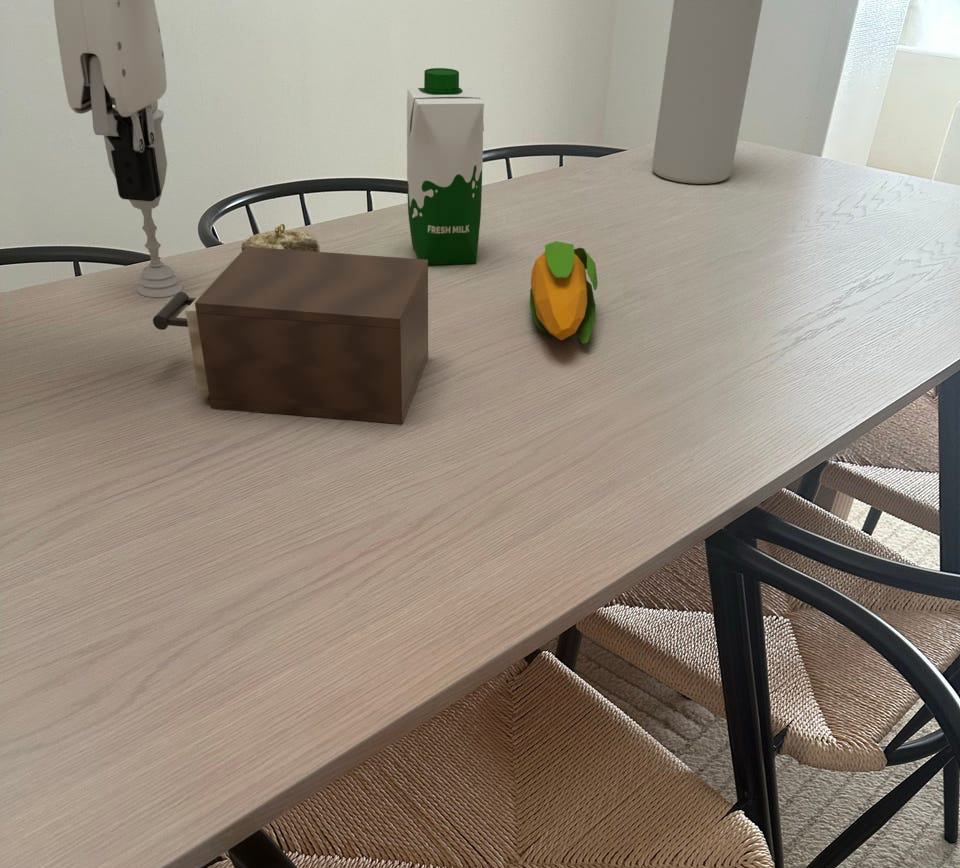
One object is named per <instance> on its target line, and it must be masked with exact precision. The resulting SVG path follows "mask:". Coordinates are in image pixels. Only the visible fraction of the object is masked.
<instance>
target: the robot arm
mask: <svg viewBox="0 0 960 868" xmlns="http://www.w3.org/2000/svg"><path fill="white" fill-rule="evenodd" d="M53 9H54V10H53V11H54V17H55V18H54V19H55V27H56V35H57V41H58V50H59V56H60V63H61V69H62V70H61V71H62V76H63V81H64V87H65V93H66V98H67V102H68V106H69V107H70V109H71V110H72V111H73V112H74V113H76V114H79V115H80V114H86V113H88V112H90V111H91V116H92V117H91V119H92V129H93V132H94V134H95V136H102V137H104V136H105V137H106V141H107V145H108V148H109V150H111V154H112V159H113V165H114V171H115V176H116V178H115V182H116V187H117V192H118V196H119V198H120V199H122V200H128V201H129V200H139V201H154V200H155V199H156V198H157V197H159V196H160V195H161V196H162V194H161V188H160V182H159V175H158V168H157V162H156V155H155V149H154V147H149V146H154V143H155V135H154V124H153V114H154V113H155V111H156V110H157V109H159V108H158V107H159V102H158V101H159V100H160V99H161V98H162V97H163V96H164V95H165V94H166V92H167V88H168V87H167V86H168V85H167V71H166V60H165V54H164V48H163V40H162V33H161V29H160V23H159V18H158V13H157V8H156V2H155V0H53ZM113 107H115V108H113ZM115 176H114V177H115Z"/></svg>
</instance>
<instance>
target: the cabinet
mask: <svg viewBox="0 0 960 868" xmlns="http://www.w3.org/2000/svg"><path fill="white" fill-rule="evenodd" d="M235 258H236V259H235V260H234V261H233V262H232V263H231V264H230V265H229V266H228V267H227V268H226V269H225V270H224V272H223V273H222V274H221V275H220V276H219V277H218V278H217V279H216V280H215V281H214V282H213V284H212V285H211V286H210V287H209V288H208V289H207V290H206V291H205V292H204V293H203V294H202V295H201V297H200V298H199V299H198V300H197V301H196V302H195V308H196V314H197V320H198V327H199V333H200V340H201V346H202V353H203V359H204V366H205V372H206V378H207V385H208V391H209V395H208V398H209V403H210V409H217V410H229V411H240V412H241V411H242V412H254V413H266V414H277V415H290V416H302V417H311V418H312V417H313V418H314V417H315V418H326V419H335V420H336V419H337V420H348V421H362V422H372V423H383V424H384V423H385V424H397V425H403V424H404V421H405V418H406V415H407V413H408V411H409V407H410V406H411V403H412V401H413V398H414V395H415V392H416V390H417V387H418V384H419V382H420V379H421V376H422V375H423V372H424V369H425V366H426V363H427V361H428V359H429V265H428V260H425V259H418V258H408V257H396V256H383V255H368V254H354V253H340V252H328V251H326V252H325V251H320V252H314V251H301V250H287V249H273V248H259V247H246V248H245V249H244V250H243V251H242V250H241V252H240V253H239V254H238V255H237V256H236V257H235Z"/></svg>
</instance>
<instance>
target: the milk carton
mask: <svg viewBox="0 0 960 868" xmlns="http://www.w3.org/2000/svg"><path fill="white" fill-rule="evenodd" d="M423 72H424V74H423V75H424V78H423V87H417V88H407V98H406V176H407V177H406V178H407V179H406V181H407V189H406V190H407V215H408V216H407V217H408V223H409V229H410V231H409V232H410V239H411V246H412V249H413V251H414V253H415V255H416V257H417V259H425V260H428V266H438V265H440V266H443V265H465V264H467V265H468V264H477V260H478V248H479V240H480V239H479V238H480V230H481V229H480V228H481V217H482V216H481V214H482V193H483V192H482V191H483V165H484V164H483V163H484V132H485V130H484V129H485V128H484V127H485V124H484V108H485V103H484V102H483V101H482V100H481V97H480V95H479V94H476V92H475V91H473V90H472V88H467V87H465V88H461V87H460V72H459V70H457V69H453V68H445V67H433V68H427V69H425V70H424V71H423Z"/></svg>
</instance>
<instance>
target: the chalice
mask: <svg viewBox="0 0 960 868" xmlns="http://www.w3.org/2000/svg"><path fill="white" fill-rule="evenodd" d="M113 108H115V106H113ZM164 116H165V112H164V111H163V110H161V109H159V108H157V110H156V111H155V113H154V114H153V124H154V135H155V143H154V146H149V147H154V149H155V155H156V162H157V168H158V175H159V182H160V188H161V195H160V196H159V197H157V198H156V199H155V200H154V201H139V200H128V201H129V202H130V204H131V205H132V207H134V208H135V209H138V210H140V211H141V213H142V217H143V225H142V226H141V227H142V228H141V229H142V230H143V231H144V233H145V235H146V242H145V244H144V248H146V249H147V250H148V253H149V256H150V262H149V263H148V265H147V266H145V267H144V268H143V269H142V271H141V272H140V279H139V282H138V283H139V285H138V288H137V292H138V294H139V295H141V296H144V297H148V298H166V297H172V296H175V295H176V294H177V293H178V292H183V290H184V286H183V284H182V283H181V282H180V281H179V278H178V276H177V275H176V274H175V271H174V270H173V268H172V267H171V266H169V265H166V264H164V262H163V261H161V259H160V256H159V251H160V250H159V249H160V248H161V246H162V244H161V243H160V242H158V240H157V238H156V233H157V232H156V231H157V229H158V226H157V225H156V224H155V221H154V219H153V217H152V216H153V209H156V208H157V207H158V206H159V204H160V200H161V197H162V194H163V190H164V186H165V183H166V175H167V167H168V159H167V154H166V147H165V141H164V135H163V129H162V128H163V127H162V124H163V123H162V122H163V119H164ZM103 140H104V145H105V150H106V155H107V161H108V165H109V168H110V170H111V172H112V174H113V176H114V178H115V179H116V176H115V171H114V165H113V159H112V154H111V150H109V148H108V145H107V141H106V137H105V136H103Z"/></svg>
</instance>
